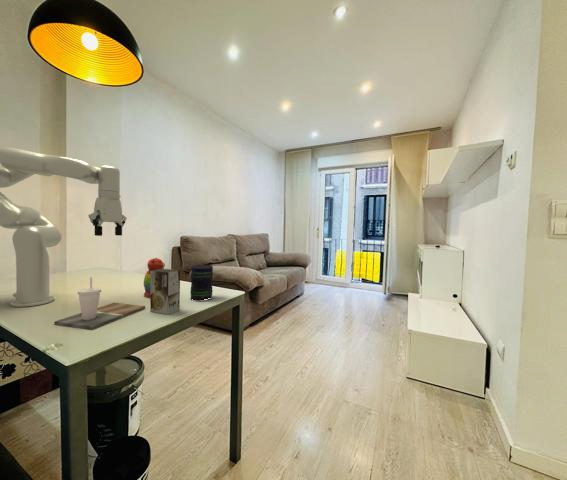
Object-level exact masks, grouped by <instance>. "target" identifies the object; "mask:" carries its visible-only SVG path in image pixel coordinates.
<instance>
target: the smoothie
mask: <svg viewBox="0 0 567 480" xmlns="http://www.w3.org/2000/svg"><path fill="white" fill-rule="evenodd" d="M76 293H77V295H78V299H79V306H80V313H82V319H83V320H90V319H94V318H96V315H97V309H98V308H99V301H100V297H101V293H102V288H100V287H93V277H92V276H90V277H89V287H88V288H87V287H86V288H82V289H78V290H77V292H76Z"/></svg>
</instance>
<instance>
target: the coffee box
mask: <svg viewBox="0 0 567 480" xmlns="http://www.w3.org/2000/svg"><path fill="white" fill-rule="evenodd" d="M180 296H181V269H173V268H162V269H157V270H152V271H150V298H149V299H150V302H149V303H150V309H149V310H150V312H151V313H158V314H163V315H171V314H173V313H176V312H179V311H180V302H181V301H180V300H181V297H180ZM178 310H179V311H178Z"/></svg>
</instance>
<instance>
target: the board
mask: <svg viewBox="0 0 567 480" xmlns="http://www.w3.org/2000/svg"><path fill="white" fill-rule="evenodd" d="M145 309H146V305H138V304H130V303H129V304H128V303H123V302H122V303H119V302H112V303H108V304H105V305H102V306H98V309H97V315H96V318H94V319H90V320H83V319H82V313H81V312H80V313H77V314H74V315H70V316H67V317H64V318H61V319H58V320H55V321H54V322H53V323H54V324H53V325H56V326H63V327H70V328H76V329H85V330H95V329H98V328H101V327H103V326H105V325H108V324H111V323H113V322H115V321H117V320H120V319H122V318H125V317H127V316H130V315H132V314H135V313H137V312H140V311H143V310H145Z"/></svg>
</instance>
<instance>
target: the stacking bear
mask: <svg viewBox="0 0 567 480" xmlns="http://www.w3.org/2000/svg"><path fill="white" fill-rule="evenodd" d="M146 265H147V269H148V270H147V271H146V272H145V274H144V278H143V287H144V293H143V296H144V297H145V298H148V299H150V271H152V270H157V269H162V268H163V269H165V266H166V264H165V263H164V262H163V261H162V259H160V258H157V257H154V258H151V259H149V260H148V261H147V264H146Z"/></svg>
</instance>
